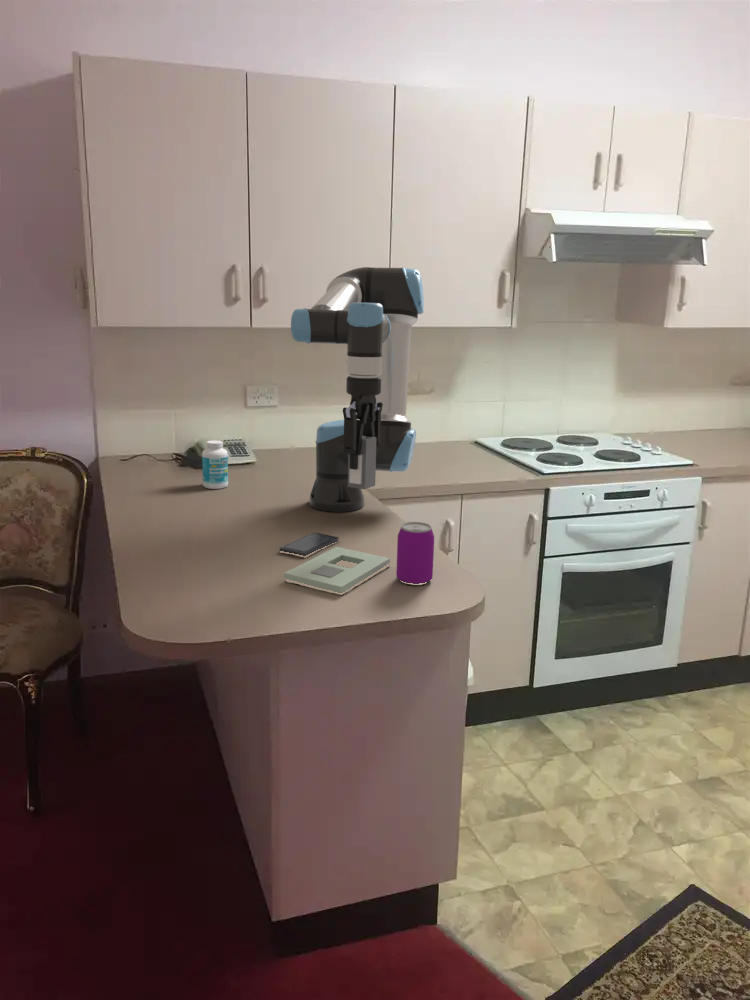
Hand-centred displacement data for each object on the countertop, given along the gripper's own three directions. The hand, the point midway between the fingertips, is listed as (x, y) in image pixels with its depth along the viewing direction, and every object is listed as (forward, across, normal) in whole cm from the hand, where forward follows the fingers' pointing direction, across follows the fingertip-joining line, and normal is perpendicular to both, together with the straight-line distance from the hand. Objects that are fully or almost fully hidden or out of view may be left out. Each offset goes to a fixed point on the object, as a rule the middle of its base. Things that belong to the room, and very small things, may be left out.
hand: (361, 480), depth 182 cm
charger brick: (+1, 0, 0) cm, 1 cm away
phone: (+17, +2, -12) cm, 22 cm away
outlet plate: (+18, +13, +2) cm, 22 cm away
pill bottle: (+17, -28, -66) cm, 74 cm away
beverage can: (+18, +7, +18) cm, 26 cm away
